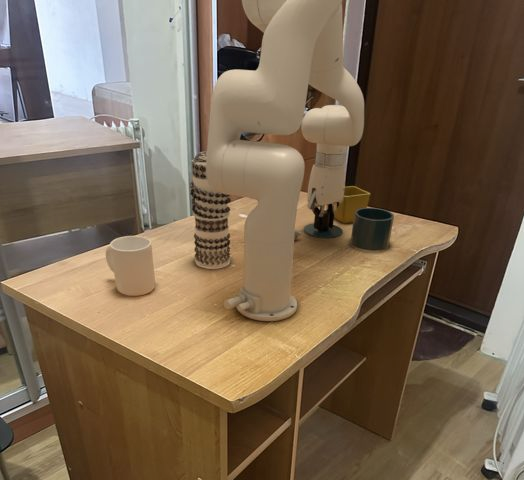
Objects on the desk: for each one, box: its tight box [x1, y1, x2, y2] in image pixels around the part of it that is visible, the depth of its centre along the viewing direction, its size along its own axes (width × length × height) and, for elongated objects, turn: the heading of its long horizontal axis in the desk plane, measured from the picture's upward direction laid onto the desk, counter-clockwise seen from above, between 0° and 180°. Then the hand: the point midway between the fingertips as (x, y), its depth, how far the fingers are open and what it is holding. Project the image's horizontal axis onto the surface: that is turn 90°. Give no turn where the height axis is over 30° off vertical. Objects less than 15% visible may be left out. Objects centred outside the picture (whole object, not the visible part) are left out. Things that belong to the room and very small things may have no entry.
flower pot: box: [334, 185, 371, 224], centre depth 144 cm, size 9×9×9 cm
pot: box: [350, 207, 395, 252], centre depth 129 cm, size 10×10×8 cm
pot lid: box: [303, 209, 343, 239], centre depth 136 cm, size 11×11×6 cm
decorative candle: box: [189, 150, 231, 270], centre depth 112 cm, size 9×9×25 cm
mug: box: [105, 235, 156, 297], centre depth 104 cm, size 12×8×10 cm
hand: (323, 227), depth 136 cm, fingers closed on pot lid, 3 cm apart
